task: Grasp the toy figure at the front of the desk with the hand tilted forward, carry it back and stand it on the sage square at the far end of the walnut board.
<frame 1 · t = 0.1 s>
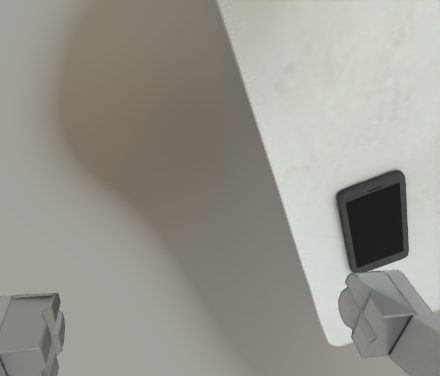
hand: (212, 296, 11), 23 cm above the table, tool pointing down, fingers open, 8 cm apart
cell phone: (372, 224, 43), on the table
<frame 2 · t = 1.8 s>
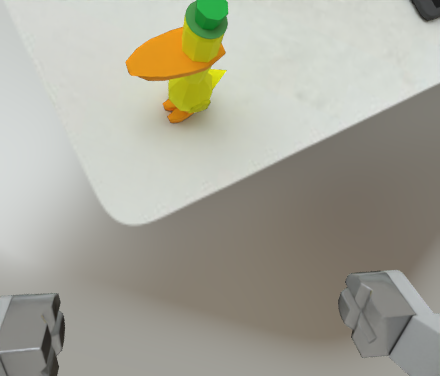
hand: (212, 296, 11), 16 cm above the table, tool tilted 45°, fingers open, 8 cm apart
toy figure: (175, 111, 29), on the table
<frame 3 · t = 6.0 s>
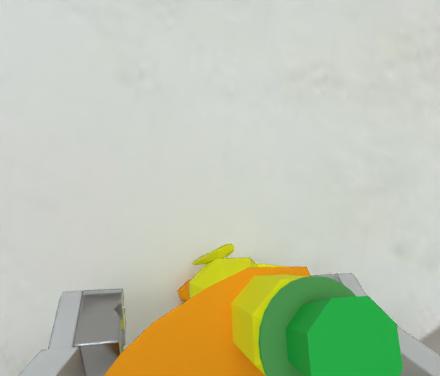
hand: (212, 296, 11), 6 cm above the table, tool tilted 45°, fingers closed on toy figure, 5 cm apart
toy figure: (199, 296, 17), on the table, touching gripper
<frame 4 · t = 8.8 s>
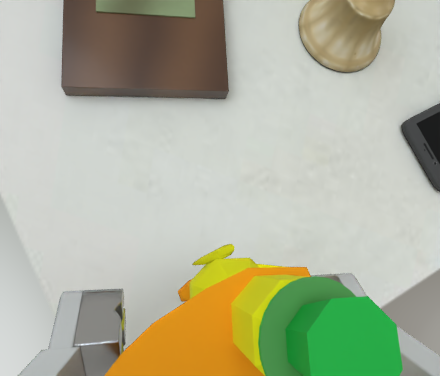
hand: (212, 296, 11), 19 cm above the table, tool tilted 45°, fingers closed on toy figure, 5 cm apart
hand bell: (338, 33, 36), on the table
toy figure: (200, 297, 17), point 12 cm above the table, touching gripper
board: (146, 21, 32), on the table
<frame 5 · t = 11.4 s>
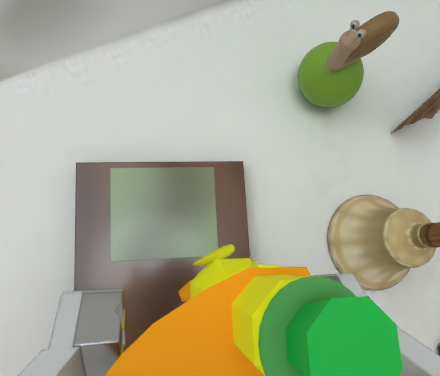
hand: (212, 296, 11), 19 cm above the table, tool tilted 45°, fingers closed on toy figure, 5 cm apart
hand bell: (369, 241, 33), on the table
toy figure: (200, 297, 17), point 13 cm above the table, touching gripper
snail figurine: (311, 92, 35), on the table
board: (165, 252, 29), on the table
when the fingers open (8 cm above the table, at t = 15.7 s): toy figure stays where it is, resting on board.
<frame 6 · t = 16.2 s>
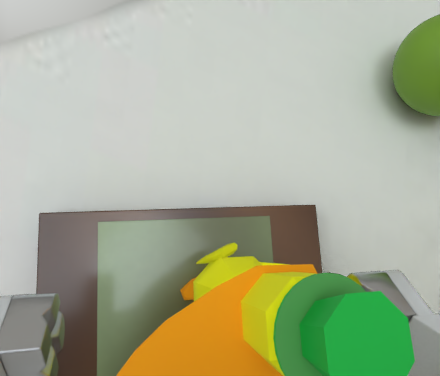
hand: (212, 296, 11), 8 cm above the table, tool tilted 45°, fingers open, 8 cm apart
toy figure: (202, 295, 17), point 1 cm above the table, touching board
snail figurine: (405, 93, 23), on the table
board: (189, 358, 18), on the table
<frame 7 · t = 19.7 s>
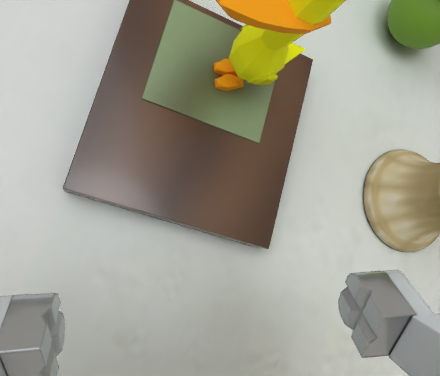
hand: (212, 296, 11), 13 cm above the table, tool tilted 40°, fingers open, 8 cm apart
hand bell: (402, 200, 30), on the table
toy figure: (224, 77, 24), point 1 cm above the table, touching board
snail figurine: (392, 31, 32), on the table
board: (198, 121, 25), on the table
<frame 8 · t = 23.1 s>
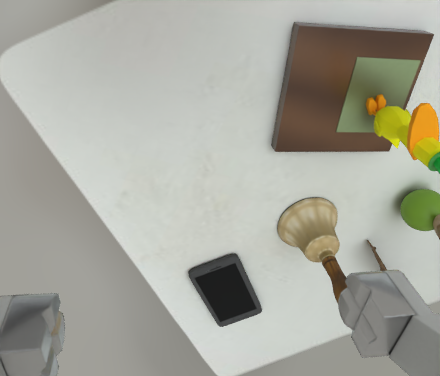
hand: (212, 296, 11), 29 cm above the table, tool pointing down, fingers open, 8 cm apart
wood plank: (376, 267, 58), on the table
cell phone: (226, 289, 55), on the table
hand bell: (306, 221, 50), on the table
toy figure: (374, 102, 40), point 1 cm above the table, touching board
snail figurine: (410, 194, 50), on the table
board: (343, 91, 40), on the table
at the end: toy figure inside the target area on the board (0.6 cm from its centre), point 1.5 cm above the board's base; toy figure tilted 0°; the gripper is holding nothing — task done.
